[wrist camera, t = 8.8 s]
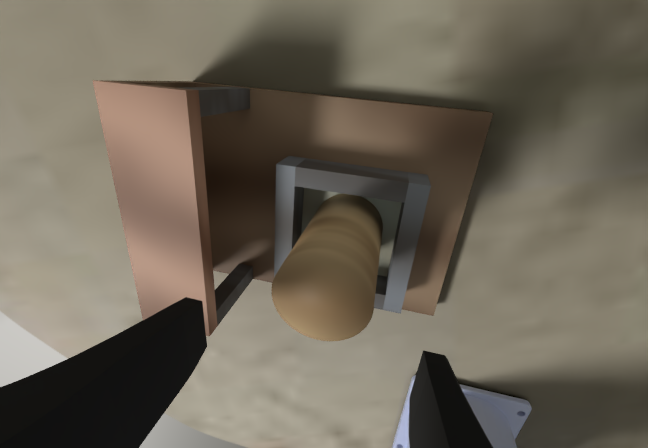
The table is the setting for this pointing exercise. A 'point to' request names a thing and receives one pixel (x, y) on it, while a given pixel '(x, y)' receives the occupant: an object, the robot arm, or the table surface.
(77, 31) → the table surface
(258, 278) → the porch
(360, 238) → the peg
